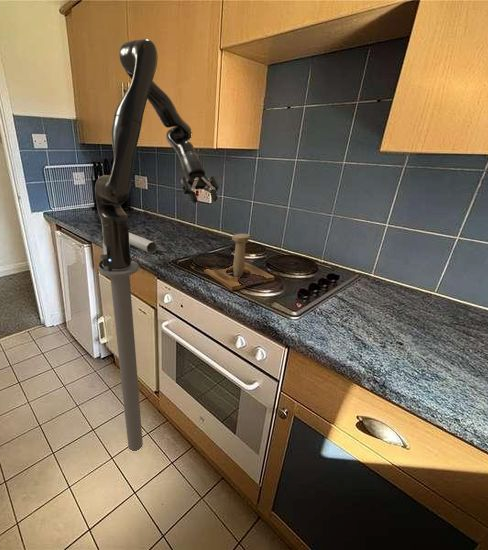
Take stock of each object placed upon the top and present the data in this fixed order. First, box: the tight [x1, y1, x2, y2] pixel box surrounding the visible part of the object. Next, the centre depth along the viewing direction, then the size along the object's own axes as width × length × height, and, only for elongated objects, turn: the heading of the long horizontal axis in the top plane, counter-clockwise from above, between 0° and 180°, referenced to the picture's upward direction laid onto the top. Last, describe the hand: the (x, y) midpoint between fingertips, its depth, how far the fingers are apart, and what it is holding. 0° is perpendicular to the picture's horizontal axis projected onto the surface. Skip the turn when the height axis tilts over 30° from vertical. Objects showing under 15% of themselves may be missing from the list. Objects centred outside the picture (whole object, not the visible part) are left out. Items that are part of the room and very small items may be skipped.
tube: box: [129, 232, 158, 255], centre depth 138 cm, size 5×5×25 cm
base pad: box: [203, 261, 275, 292], centre depth 108 cm, size 18×18×2 cm
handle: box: [231, 233, 251, 277], centre depth 106 cm, size 5×6×15 cm
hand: (206, 200), depth 113 cm, fingers open, 8 cm apart
